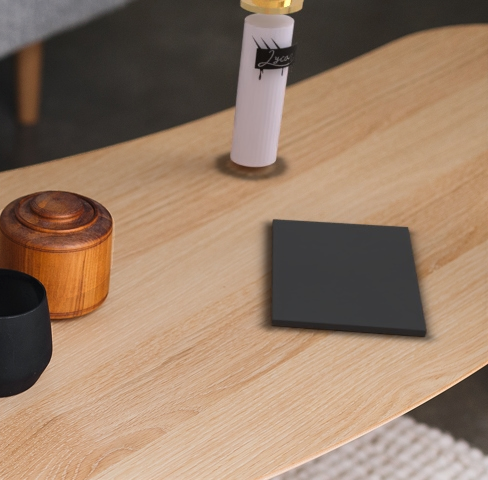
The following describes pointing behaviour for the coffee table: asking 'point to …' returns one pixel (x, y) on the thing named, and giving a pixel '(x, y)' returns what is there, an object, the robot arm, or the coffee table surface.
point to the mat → (345, 278)
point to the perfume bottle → (262, 80)
